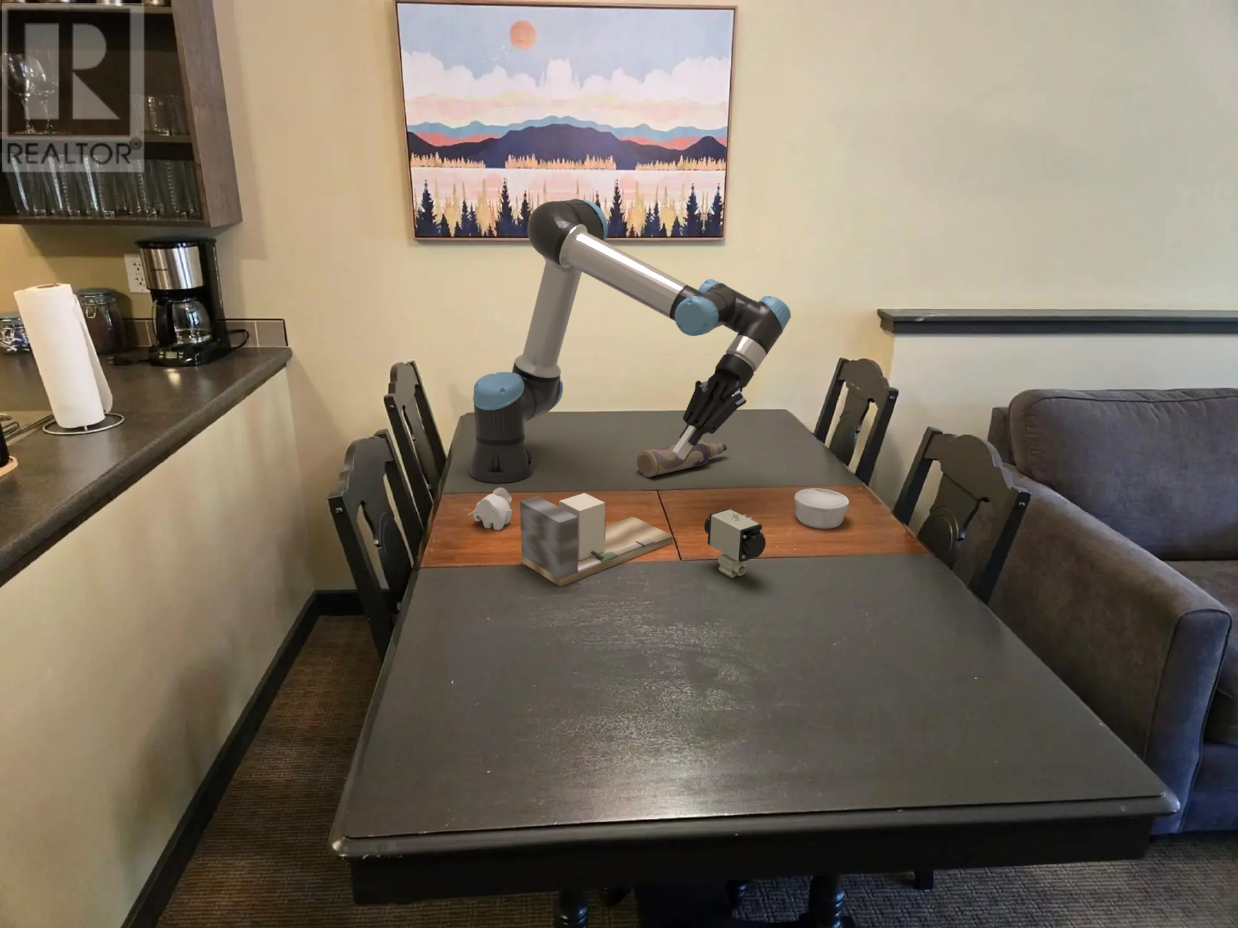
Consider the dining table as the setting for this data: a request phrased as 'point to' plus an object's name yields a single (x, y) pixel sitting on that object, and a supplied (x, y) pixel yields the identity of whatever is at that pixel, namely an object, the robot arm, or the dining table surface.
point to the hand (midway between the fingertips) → (677, 455)
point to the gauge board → (613, 543)
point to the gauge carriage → (588, 523)
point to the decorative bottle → (675, 458)
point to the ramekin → (820, 507)
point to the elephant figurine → (494, 509)
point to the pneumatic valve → (734, 540)
